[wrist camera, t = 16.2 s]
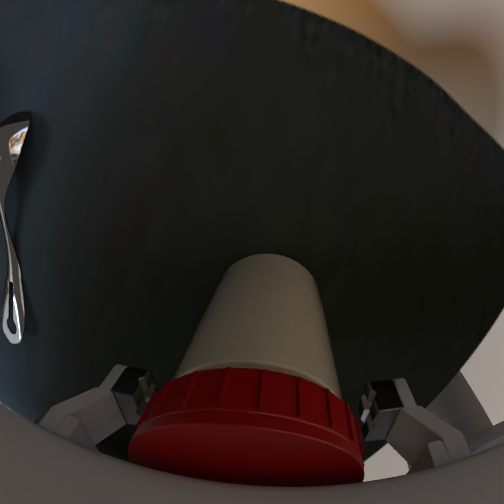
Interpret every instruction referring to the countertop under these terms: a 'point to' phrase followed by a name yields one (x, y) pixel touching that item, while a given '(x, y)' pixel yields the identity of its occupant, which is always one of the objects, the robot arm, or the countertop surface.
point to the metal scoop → (3, 165)
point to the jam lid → (249, 430)
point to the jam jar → (264, 323)
